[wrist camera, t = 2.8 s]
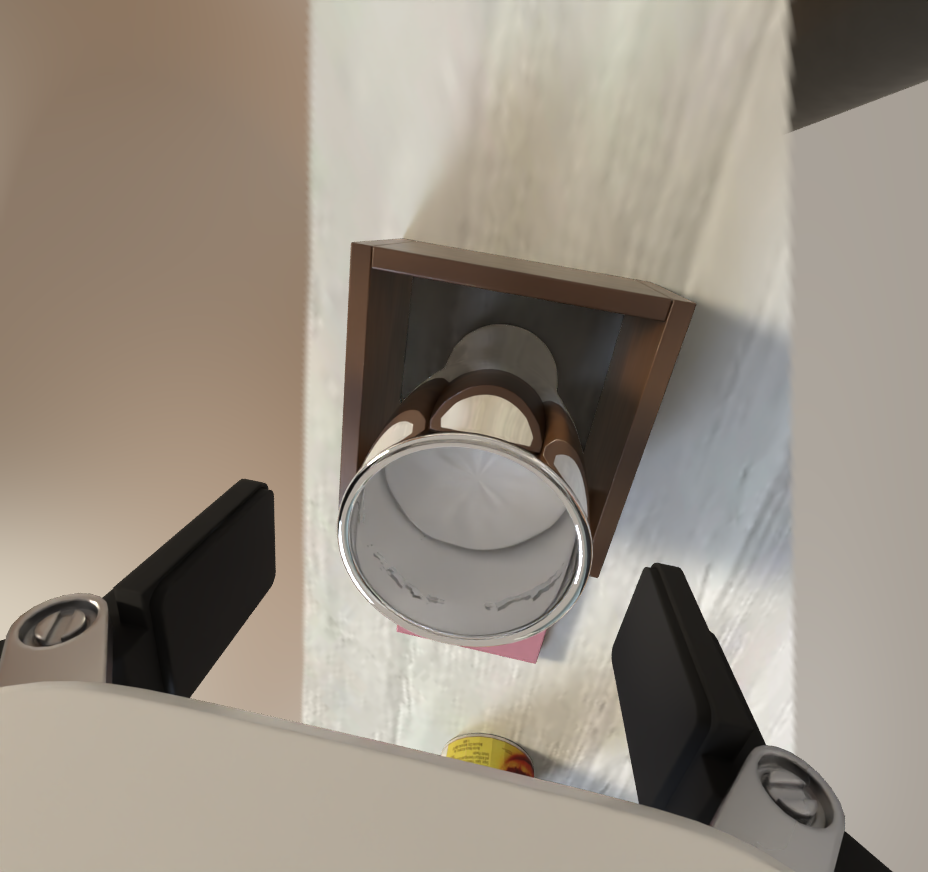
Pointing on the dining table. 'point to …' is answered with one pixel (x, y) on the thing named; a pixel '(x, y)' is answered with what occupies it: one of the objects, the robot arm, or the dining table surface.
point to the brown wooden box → (643, 303)
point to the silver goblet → (474, 499)
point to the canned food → (490, 753)
